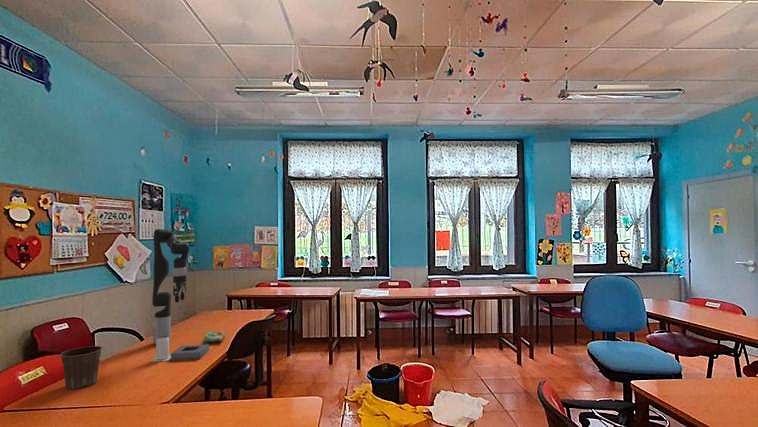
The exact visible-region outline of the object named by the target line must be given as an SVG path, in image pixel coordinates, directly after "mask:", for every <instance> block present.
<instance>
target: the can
mask: <svg viewBox="0 0 758 427" xmlns="http://www.w3.org/2000/svg"><path fill="white" fill-rule="evenodd" d="M155 345H156V346H155V347H156V348H155V349H156V350H155V358H156V359H158V360H162V359H167V358H168V357H169V356H170V342H169V338H168V336H160V337H157V340H156V344H155Z"/></svg>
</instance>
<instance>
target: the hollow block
mask: <svg viewBox="0 0 758 427" xmlns="http://www.w3.org/2000/svg"><path fill="white" fill-rule="evenodd" d="M209 351H210V343H209V344H205V343H204V344H189V345H188V344H186V345H185V344H184V345H180V346H179V347H177V349H175V350H174V351H172V352H171V353H170V356H171V359H170V361H172V362H174V361H175V362H176V361H188V360H189V361H190V360H191V361H192V360H201V359H202V358H203V357H204V356H205V355H206V354H207V353H208V352H209Z"/></svg>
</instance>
